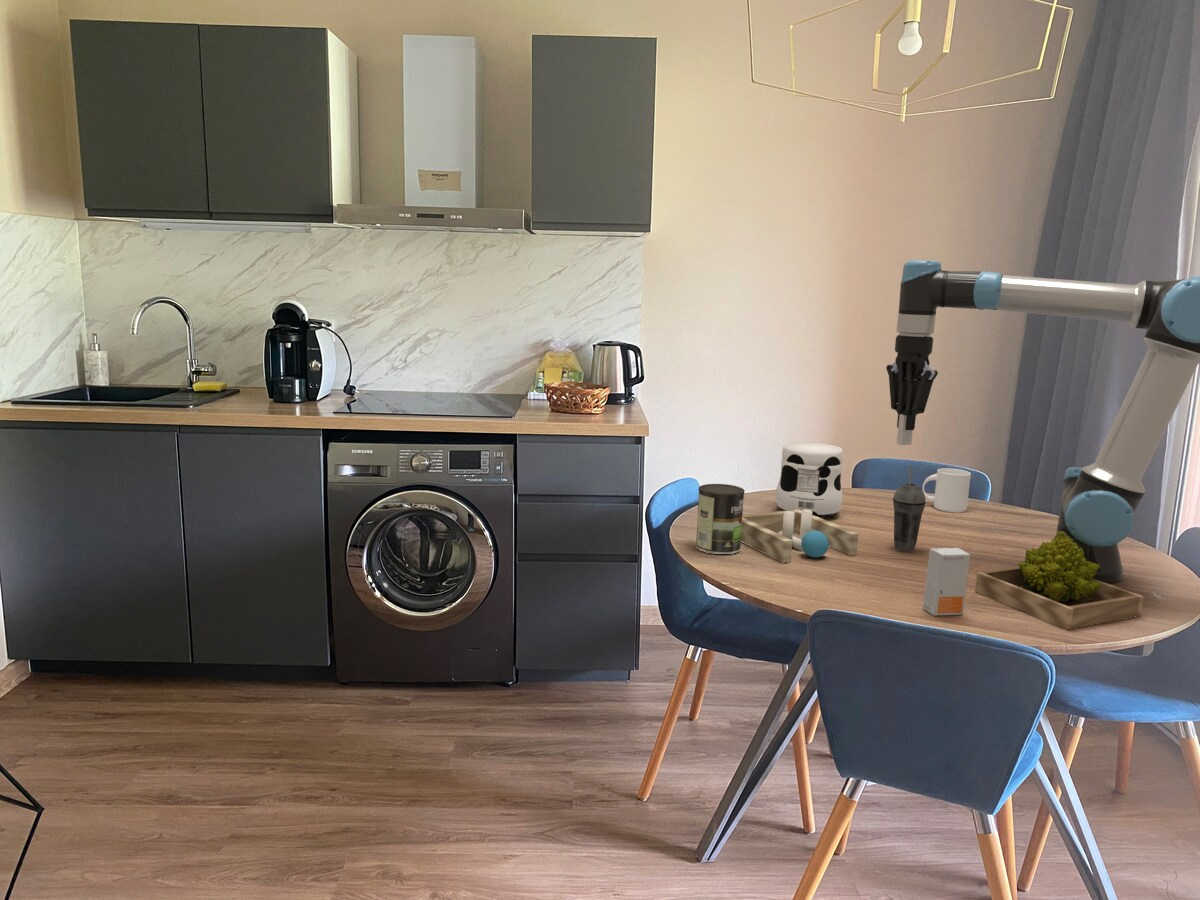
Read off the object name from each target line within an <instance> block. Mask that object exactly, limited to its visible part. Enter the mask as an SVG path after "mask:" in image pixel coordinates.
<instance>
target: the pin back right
mask: <svg viewBox="0 0 1200 900" xmlns="http://www.w3.org/2000/svg"><path fill="white" fill-rule="evenodd" d="M811 522H812V510H807V509H803V510H802V513H801V526H800V533H799V539H801V540H802V538H803V536H804V535H805V534H806V533H808V532H810V531H811Z"/></svg>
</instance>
